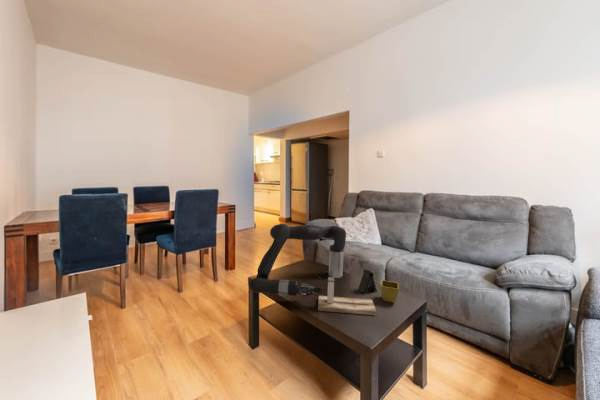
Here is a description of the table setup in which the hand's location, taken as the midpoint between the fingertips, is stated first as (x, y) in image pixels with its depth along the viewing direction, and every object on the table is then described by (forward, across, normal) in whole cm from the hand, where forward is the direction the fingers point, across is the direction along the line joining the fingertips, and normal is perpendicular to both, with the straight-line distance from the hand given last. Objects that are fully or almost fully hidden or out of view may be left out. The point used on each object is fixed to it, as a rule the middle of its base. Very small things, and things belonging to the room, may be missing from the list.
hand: (321, 289), depth 132 cm
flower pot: (+37, +11, +8) cm, 39 cm away
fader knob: (+5, 0, +6) cm, 7 cm away
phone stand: (+27, +21, +8) cm, 35 cm away
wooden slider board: (+13, 0, +8) cm, 15 cm away
